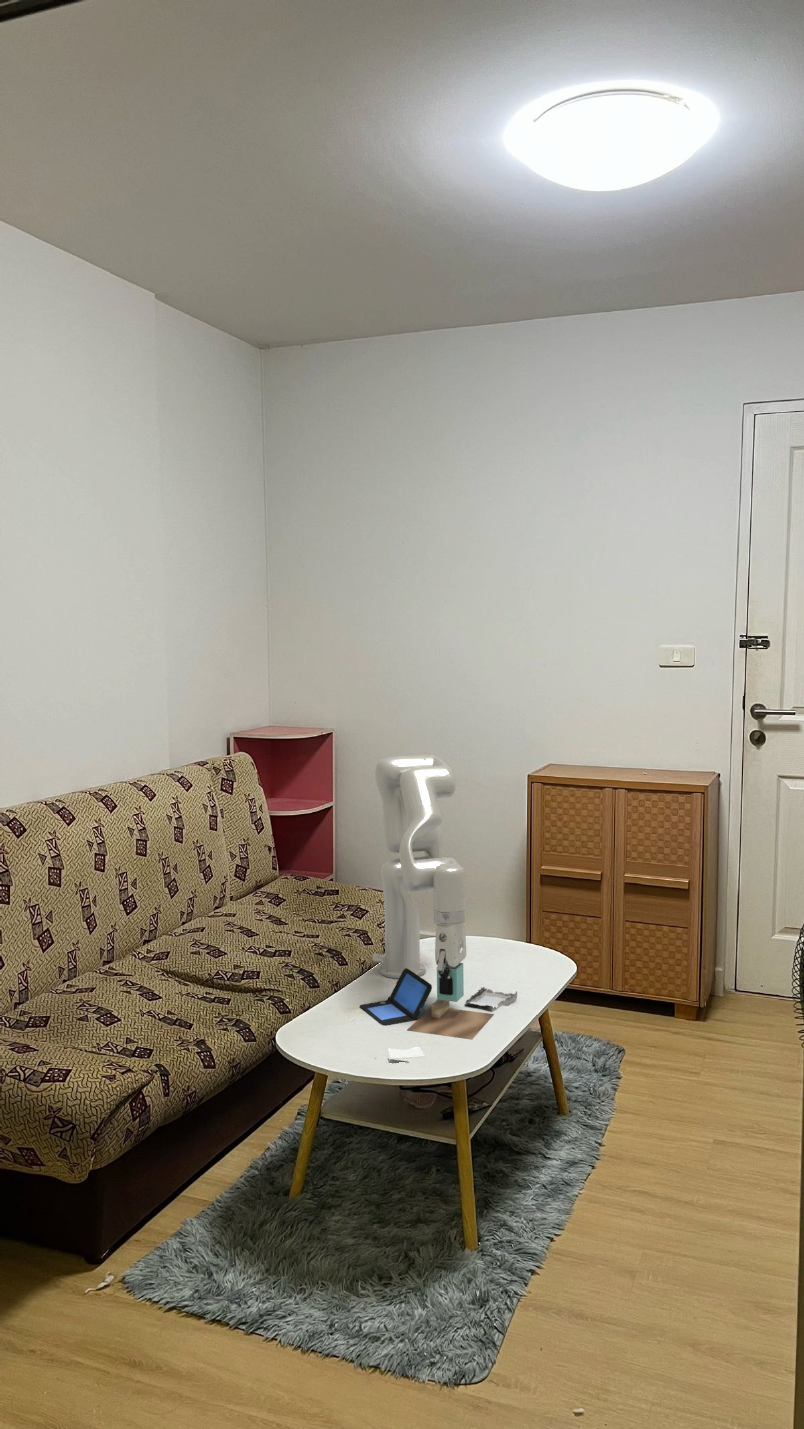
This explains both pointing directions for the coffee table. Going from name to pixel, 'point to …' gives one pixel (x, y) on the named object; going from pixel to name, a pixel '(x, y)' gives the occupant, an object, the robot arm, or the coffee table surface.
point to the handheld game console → (401, 1001)
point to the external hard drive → (404, 1054)
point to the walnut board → (450, 1021)
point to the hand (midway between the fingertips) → (450, 989)
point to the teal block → (457, 984)
